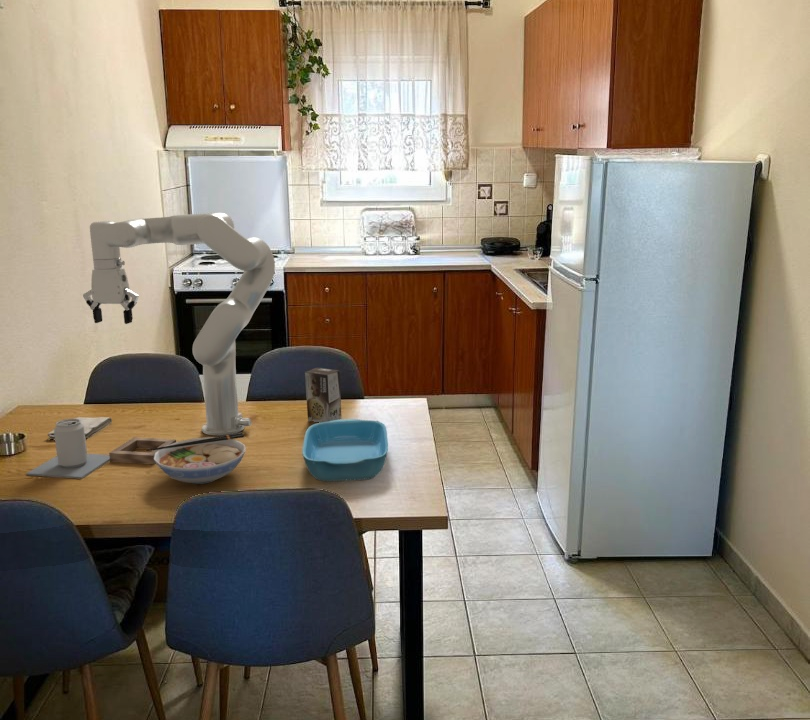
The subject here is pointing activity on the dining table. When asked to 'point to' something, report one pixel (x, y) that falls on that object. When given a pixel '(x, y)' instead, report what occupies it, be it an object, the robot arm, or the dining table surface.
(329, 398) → the coffee box
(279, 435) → the dining table surface
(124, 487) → the dining table surface
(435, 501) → the dining table surface
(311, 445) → the casserole dish
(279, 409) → the dining table surface
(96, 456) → the grey mat
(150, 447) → the shallow wooden tray
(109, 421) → the washcloth
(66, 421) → the can
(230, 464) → the ramen bowl
